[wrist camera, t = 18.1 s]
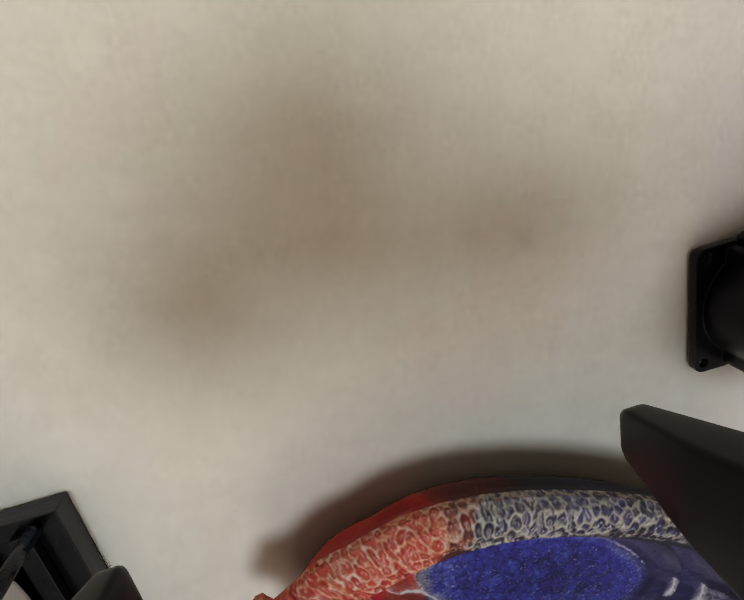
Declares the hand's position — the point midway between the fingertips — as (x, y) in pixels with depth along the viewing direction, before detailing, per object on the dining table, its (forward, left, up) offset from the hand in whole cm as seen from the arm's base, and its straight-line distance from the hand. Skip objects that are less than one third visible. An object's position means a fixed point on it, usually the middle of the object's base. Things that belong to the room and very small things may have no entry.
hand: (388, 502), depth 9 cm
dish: (-19, -7, -13) cm, 24 cm away
